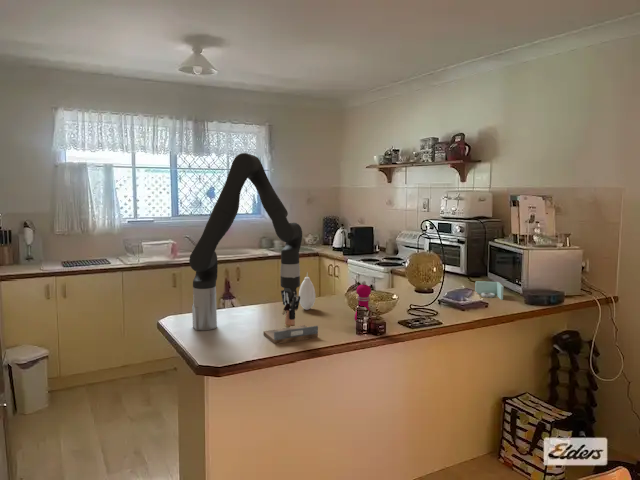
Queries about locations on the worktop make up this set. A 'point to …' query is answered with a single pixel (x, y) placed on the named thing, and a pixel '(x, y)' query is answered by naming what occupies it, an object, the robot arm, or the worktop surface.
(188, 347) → the worktop surface
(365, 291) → the pepper mill
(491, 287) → the l-shaped corner panel
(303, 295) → the sauce bottle
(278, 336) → the price rail
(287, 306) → the grandmother figurine
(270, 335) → the shelf board
